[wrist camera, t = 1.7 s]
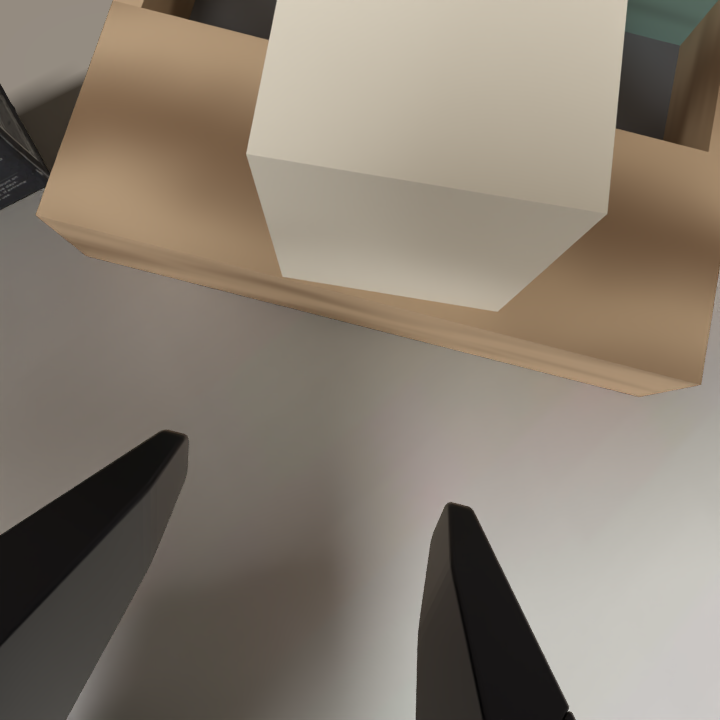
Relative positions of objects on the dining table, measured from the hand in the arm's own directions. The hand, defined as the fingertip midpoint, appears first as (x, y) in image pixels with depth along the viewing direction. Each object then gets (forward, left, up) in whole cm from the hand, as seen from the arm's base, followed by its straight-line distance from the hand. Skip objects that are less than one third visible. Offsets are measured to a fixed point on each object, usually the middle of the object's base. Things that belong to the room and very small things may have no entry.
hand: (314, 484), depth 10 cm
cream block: (+10, 0, -9) cm, 13 cm away
